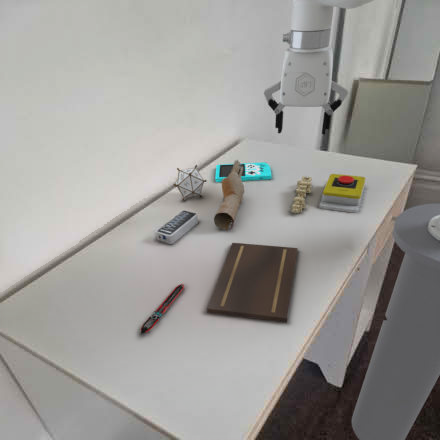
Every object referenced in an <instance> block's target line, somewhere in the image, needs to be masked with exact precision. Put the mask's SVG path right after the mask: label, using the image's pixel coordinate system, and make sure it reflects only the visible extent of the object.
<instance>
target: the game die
mask: <svg viewBox="0 0 440 440" xmlns="http://www.w3.org/2000/svg"><path fill="white" fill-rule="evenodd" d="M197 168H198V164H195V165H194V167H191V168H185V169H180V168H179V167H176V170H177V171H178V172H177V177H176V181H175V183H173V185H172V186H173V187H175V188H177V190H178V191H179V193H180V195H181V196H182V201H183V202H184V201H185V199H187V198H193V197H198V196H199V197H200V198H203V195H202V191H203V187H204V184H205V183H207V182H208V180H207V179H204V178H203V176H202V175H201V172H199V170H198V169H197Z"/></svg>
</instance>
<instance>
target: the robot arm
mask: <svg viewBox="0 0 440 440" xmlns="http://www.w3.org/2000/svg"><path fill="white" fill-rule="evenodd" d="M373 1H374V0H292V5H291V21H290V31H289V32H287V33H283V34H282V43H286V44H287V45H289V47H288V48H286V50H285V51H284V56H283V61H282V69H281V75H280V76H281V77H280V81H278V82H276V83H274V84H273V85H270V86H269V87H267V88H266V89H265V90H264V91H263V95H264V99H265V100H266V102H267V105H268V106H269V107H270V109H271V110H272V111H273V112H274V114H275V125H274V126H275V129H277V134H282V133H283V132H282V131H283V126H284V125H283V124H284V111H283V110H284V109H285V107H293V108H294V107H296V108H297V107H299V108H300V107H301V108H303V107H304V108H305V107H307V108H315V107H316V108H319V107H322V108H323V110H324V113H323V119H322V129H321V134H322V135H326V130H330V125H331V124H330V123H331V117H332V115H333V113H334V112H335V111H336V110H337V109H339V108H340V107H341V106H342V104H343V102H344V101H345V99H346V98H347V96H348V95H349V90H348V89H347V88H345V87H344V86H343V85H340V84H339V83H337V82H336V81H334V80H332V79H333V66H334V65H333V63H334V53H333V48H332V47H331V46H330V41H331V33H332V32H331V31H332V24H333V15H334V8H340V9H347V10H349V9H355V8H358V7H361V6H364V5H366V4H369V3H372V2H373ZM278 91H279V102H277V101H276V99H274V96H273V94H274V93H277V92H278ZM331 91H333V92H335V93H336V94H338V96H337V98H336V99H335V100H334V101H333V102H332V103H331V102H330V96H331ZM428 231H429V233H430V234H431V235H432V236H433V237H434V238H436V239H437V240H439V241H440V215H438V216H435V217H433V218H432V219H431V220H430V221H429V224H428Z"/></svg>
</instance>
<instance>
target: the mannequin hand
mask: <svg viewBox="0 0 440 440" xmlns="http://www.w3.org/2000/svg"><path fill="white" fill-rule="evenodd" d="M240 163H241V162H240V161H239V159H235V160H234V162H233V164H234V165H233V169H232V171H231V173H230V174H229V176H228V177H226V178H223V180H222V182H221V192H222V196H223V201H222V203H221V205H220V206H219V208H218V210H217V211H216V213H215V214H214V216H213V222H214V225H215V226H216V227H217V228H218V229H221V230H225V231H228V230H231V229H233V227H234V224H235V222H236V218H237V214H238V211H239V208H240V205H241V203H242V201H243V197H244V195H245V191H246V190H245V186H244V183H243V181H241V176H242V171H243V166H242V167H241V164H240Z"/></svg>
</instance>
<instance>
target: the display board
mask: <svg viewBox="0 0 440 440" xmlns="http://www.w3.org/2000/svg"><path fill="white" fill-rule="evenodd" d="M298 250H299V247H292V246H290V247H289V246H280V245H279V246H278V245H265V244H253V243H243V242H231V245H230V247H229V250H228V252H227V255H226V257H225V260H224V262H223V265H222V268H221V271H220V272H219V273H220V274H219V276H218V279H217V281H216V283H215V286H214V288H213V291H212V293H211V294H212V295H211V296H210V299H209V302H208V304H207V307H206V312H207V313H210V314H217V315H225V316H234V317H240V318H241V317H242V318H250V319H255V320H256V319H258V320H266V321H274V322H282V323H288V317H289V311H290V305H291V298H292V292H293V285H294V277H295V270H296V264H297V258H298V252H299V251H298Z"/></svg>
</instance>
